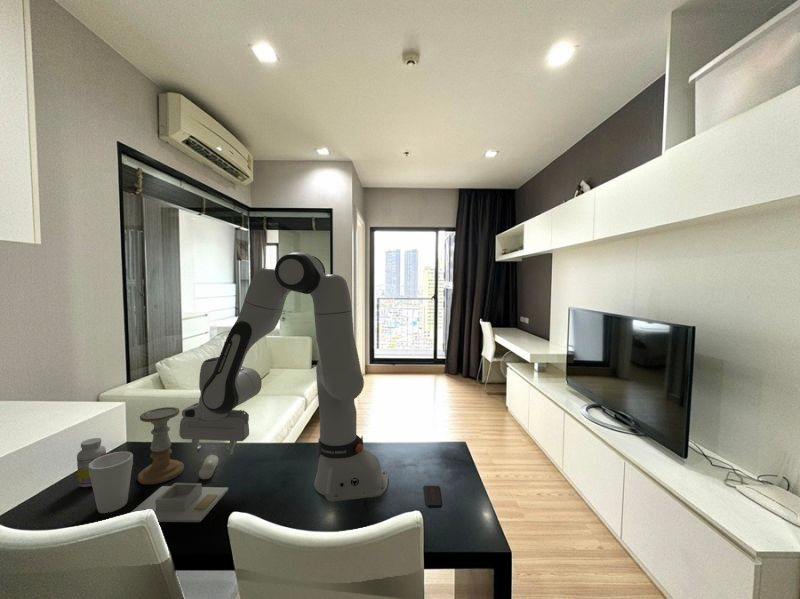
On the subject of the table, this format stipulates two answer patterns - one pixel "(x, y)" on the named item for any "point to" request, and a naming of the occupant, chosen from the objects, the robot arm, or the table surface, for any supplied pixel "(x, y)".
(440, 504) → the dark rectangular block
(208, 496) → the board
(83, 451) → the supplement bottle
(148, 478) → the candle holder
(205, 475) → the white capsule
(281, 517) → the table surface
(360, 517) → the table surface
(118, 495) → the foam cup
